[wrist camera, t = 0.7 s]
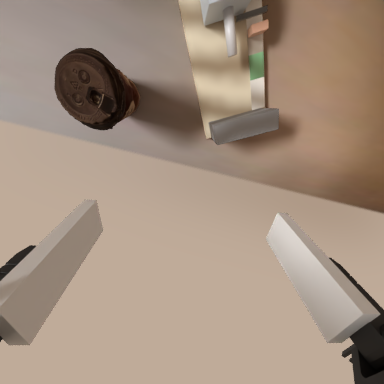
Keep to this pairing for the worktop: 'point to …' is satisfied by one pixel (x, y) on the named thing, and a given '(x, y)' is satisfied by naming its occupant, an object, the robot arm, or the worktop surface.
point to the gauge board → (228, 76)
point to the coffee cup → (94, 89)
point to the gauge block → (228, 17)
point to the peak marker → (258, 28)
